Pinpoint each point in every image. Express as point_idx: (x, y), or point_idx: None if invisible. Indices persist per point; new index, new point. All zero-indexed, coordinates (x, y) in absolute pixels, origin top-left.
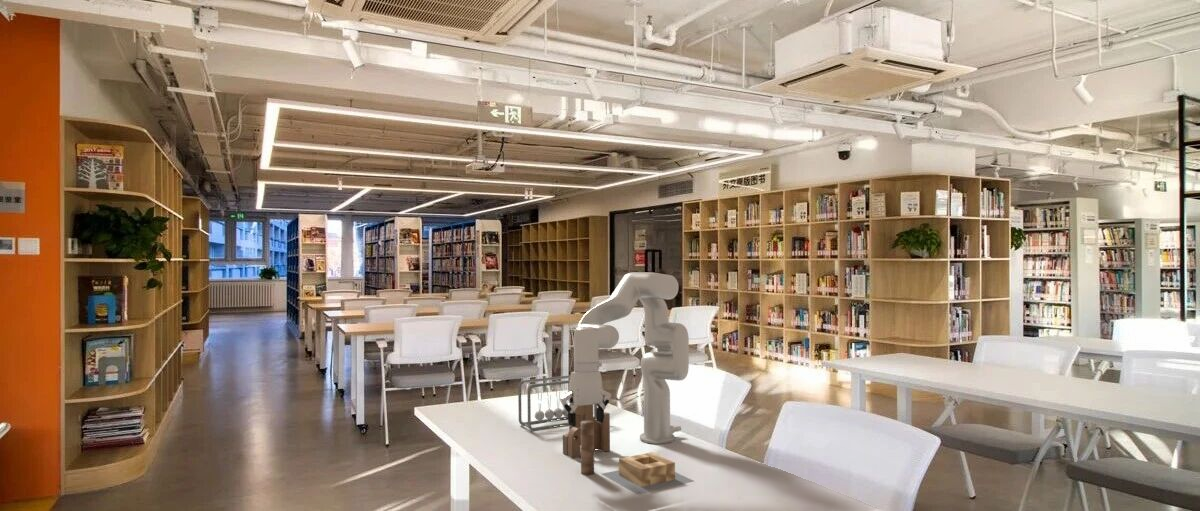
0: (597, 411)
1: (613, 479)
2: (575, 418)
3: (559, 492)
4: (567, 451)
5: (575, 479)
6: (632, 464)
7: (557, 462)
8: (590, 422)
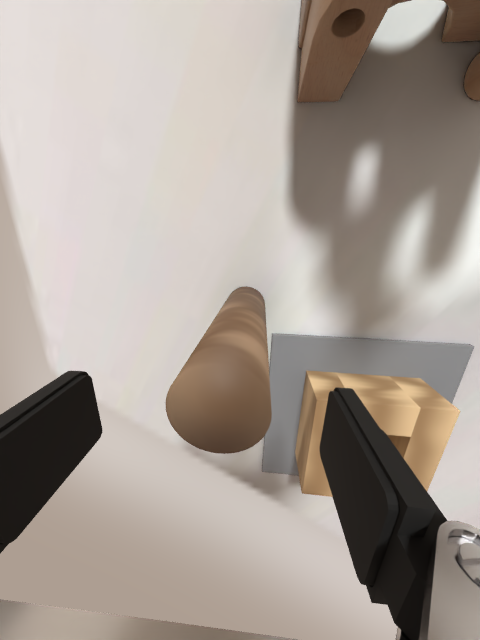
0: (365, 484)
1: (273, 386)
2: (56, 489)
3: (129, 371)
4: (304, 32)
5: (197, 320)
6: (311, 457)
7: (221, 127)
8: (235, 433)
